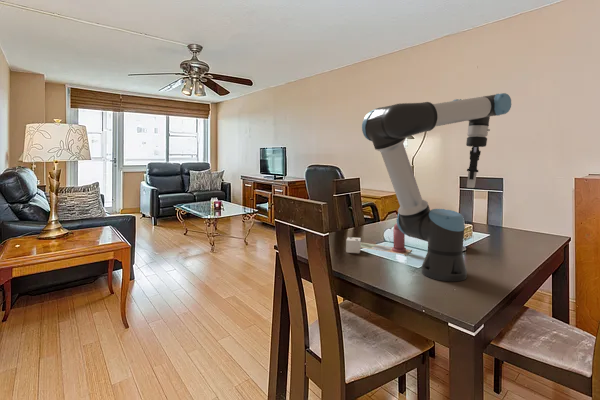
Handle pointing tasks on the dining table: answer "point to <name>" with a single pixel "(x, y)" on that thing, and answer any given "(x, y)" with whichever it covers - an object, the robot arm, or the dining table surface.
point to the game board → (382, 248)
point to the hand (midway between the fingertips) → (470, 187)
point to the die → (353, 245)
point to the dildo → (398, 240)
